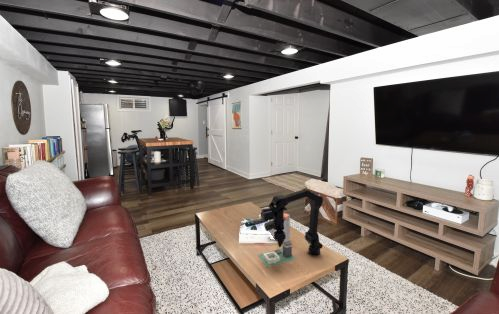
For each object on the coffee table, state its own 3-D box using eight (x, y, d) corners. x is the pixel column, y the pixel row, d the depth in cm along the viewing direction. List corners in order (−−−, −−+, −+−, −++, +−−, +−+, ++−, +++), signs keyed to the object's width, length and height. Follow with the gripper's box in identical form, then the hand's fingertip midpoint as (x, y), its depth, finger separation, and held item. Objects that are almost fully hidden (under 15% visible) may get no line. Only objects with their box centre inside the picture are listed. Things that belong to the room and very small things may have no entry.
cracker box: (268, 239, 170) (268, 212, 166) (273, 236, 174) (273, 209, 171) (285, 246, 161) (285, 217, 158) (289, 242, 166) (290, 214, 162)
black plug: (288, 252, 151) (288, 241, 150) (291, 256, 147) (291, 244, 146) (282, 254, 149) (282, 242, 148) (286, 257, 146) (286, 245, 144)
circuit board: (284, 249, 157) (284, 244, 156) (296, 260, 144) (296, 255, 143) (257, 256, 149) (257, 251, 149) (267, 269, 137) (267, 263, 136)
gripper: (264, 211, 147) (265, 234, 150) (264, 225, 129) (265, 251, 132) (283, 211, 146) (283, 234, 149) (285, 224, 128) (285, 251, 131)
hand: (279, 242), depth 140 cm, fingers open, 9 cm apart
